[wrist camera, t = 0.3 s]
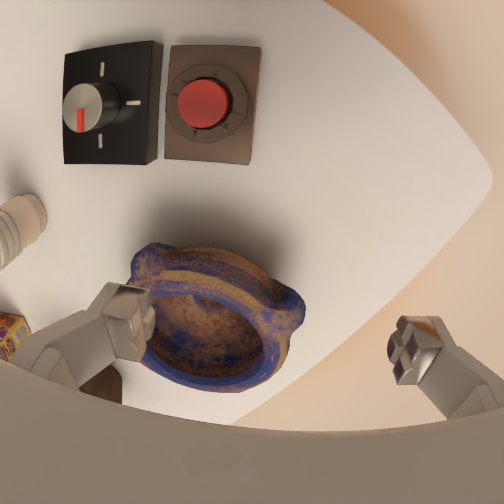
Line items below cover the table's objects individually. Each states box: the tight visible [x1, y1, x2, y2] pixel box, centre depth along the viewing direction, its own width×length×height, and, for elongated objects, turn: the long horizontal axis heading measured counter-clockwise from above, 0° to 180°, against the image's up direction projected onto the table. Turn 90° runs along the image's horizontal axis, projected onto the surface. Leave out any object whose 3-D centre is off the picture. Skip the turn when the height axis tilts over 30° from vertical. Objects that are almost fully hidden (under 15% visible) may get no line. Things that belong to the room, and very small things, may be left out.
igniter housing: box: [164, 45, 262, 165], centre depth 25 cm, size 11×8×4 cm
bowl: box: [125, 243, 306, 393], centre depth 32 cm, size 18×18×10 cm
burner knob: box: [62, 83, 120, 133], centre depth 22 cm, size 4×4×4 cm
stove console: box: [62, 41, 164, 165], centre depth 25 cm, size 12×10×3 cm
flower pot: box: [79, 365, 122, 404], centre depth 40 cm, size 15×15×16 cm
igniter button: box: [177, 79, 230, 128], centre depth 22 cm, size 4×4×2 cm
